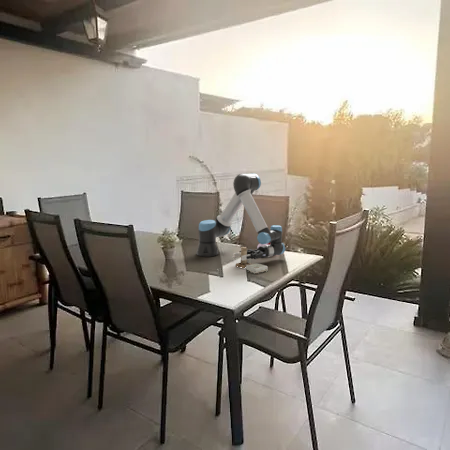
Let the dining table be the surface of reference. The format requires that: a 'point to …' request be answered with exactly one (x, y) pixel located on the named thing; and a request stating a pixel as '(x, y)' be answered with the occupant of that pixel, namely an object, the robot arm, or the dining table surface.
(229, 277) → the dining table surface
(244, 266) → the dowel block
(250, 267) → the tray
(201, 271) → the dining table surface
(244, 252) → the dowel
